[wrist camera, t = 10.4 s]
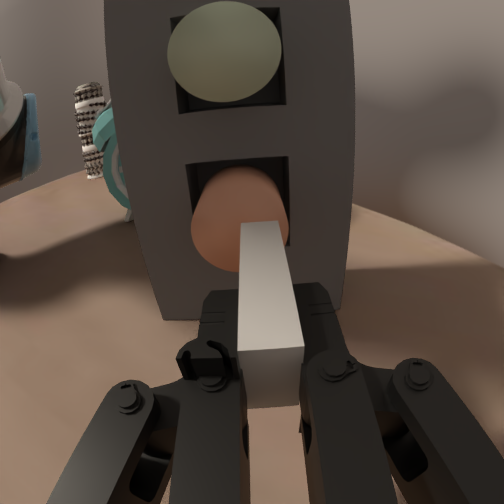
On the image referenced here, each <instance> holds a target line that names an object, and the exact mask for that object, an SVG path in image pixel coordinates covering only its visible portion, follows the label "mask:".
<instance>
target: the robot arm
mask: <svg viewBox="0 0 504 504" xmlns="http://www.w3.org/2000/svg"><path fill="white" fill-rule="evenodd" d="M41 163H42V158H41V151H40V141H39V131H38V120H37V106H36V96H35V94H33V93H31V94H24V95H23V94H22V91H21V89H20V87H19V86H18V85H17V84H16V83H14V82H11V81H6V77H5V74H4V70H3V66H2V62H1V58H0V188H3V187H5V186H7V185H9V184H12V183H15V182H17V181H21V180H23V178H25V177H27V176H29V175H31V174H33V173H35V172H37V171H38V170H39V168H40V166H41ZM201 313H202V315H201V318H200V325H199V331H198V337H197V338H196V339H194V340H192V341H190V342H188V343H186V344H185V345H184V346H183V347H182V348H181V349H180V350H179V352H178V354H177V356H176V361H177V363H178V366H179V368H180V371H181V373H182V376H183V377H182V378H181V379H179V380H178V381H176V382H173V383H170V384H167V385H163V386H159V387H154V388H149V386H148V385H147V384H145V383H143V382H141V381H137V380H127V381H123V382H120V383H118V384H117V385H115V386H113V387H112V388H111V390H110V391H109V392H108V393H107V394H106V396H105V398H104V399H103V401H102V403H101V404H100V406H99V408H98V410H97V411H96V413H95V415H94V416H93V418H92V420H91V422H90V423H89V425H88V427H87V429H86V430H85V432H84V434H83V436H82V437H81V439H80V441H79V443H78V445H77V446H76V448H75V450H74V452H73V454H72V456H71V457H70V459H69V461H68V463H67V465H66V467H65V468H64V470H63V472H62V474H61V476H60V478H59V480H58V482H57V484H56V486H55V488H54V489H53V491H52V493H51V495H50V497H49V499H48V501H47V503H46V504H160V502H161V500H162V497H163V495H164V492H165V490H166V487H167V485H168V482H169V480H170V477H171V486H170V496H169V504H250V462H249V425H248V420H247V409H253V408H270V407H283V406H294V405H299V400H300V407H301V419H300V427H299V433H302V440H303V448H304V457H305V465H306V474H307V483H308V492H309V502H310V504H398V503H397V498H396V493H395V489H394V485H393V480H392V476H393V478H394V480H395V482H396V483H397V485H398V487H399V489H400V491H401V492H402V494H403V496H404V498H405V500H406V501H407V503H408V504H504V459H503V457H502V456H501V454H500V453H499V451H498V450H497V448H496V447H495V446H494V444H493V443H492V441H491V440H490V438H489V437H488V435H487V434H486V433H485V431H484V430H483V428H482V427H481V426H480V424H479V423H478V422H477V420H476V419H475V417H474V416H473V415H472V413H471V412H470V411H469V409H468V408H467V407H466V405H465V404H464V403H463V401H462V400H461V399H460V397H459V396H458V395H457V393H456V392H455V391H454V390H453V388H452V387H451V386H450V384H449V383H448V382H447V381H446V379H445V378H444V377H443V376H442V374H441V373H440V372H439V371H438V369H437V368H436V367H435V366H434V365H432V364H431V363H430V362H428V361H426V360H423V359H418V358H410V359H407V360H403V361H402V362H401V363H399V364H398V365H397V366H396V368H395V370H392V369H382V368H374V367H369V366H366V365H363V364H361V363H359V362H358V361H357V360H356V359H355V358H354V357H353V356H352V355H350V353H349V351H348V349H347V347H346V344H345V340H344V337H343V334H342V331H341V328H340V325H339V322H338V319H337V316H336V314H335V310H334V307H333V305H332V301H331V299H330V296H329V293H328V291H327V290H326V289H325V288H324V287H323V286H322V285H321V284H320V283H319V282H313V283H300V284H292V282H291V277H290V272H289V268H288V263H287V258H286V254H285V249H284V245H283V240H282V236H281V231H280V227H279V223H278V221H263V222H248V223H241V233H240V266H239V289H229V290H212V291H210V293H209V294H208V295H207V297H206V298H205V299H204V301H203V306H202V312H201ZM391 474H392V476H391ZM171 475H172V476H171Z"/></svg>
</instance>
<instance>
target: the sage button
mask: <svg viewBox="0 0 504 504" xmlns="http://www.w3.org/2000/svg"><path fill="white" fill-rule="evenodd" d="M167 58H168V64H169V67H170V71H171V73H172V75H173V77H174V78H175V80H176V81H177V82H178V83H179V85H180V86H181V87H182V88H184V89H185V90H186V91H187V92H189V93H190V94H192V95H194V96H196V97H198V98H201V99H204V100H208V101H213V102H231V101H236V100H240V99H243V98H246V97H248V96H250V95H252V94H254V93H256V92H257V91H259V90H260V89H262V88H263V87H264V86H265V85H266V84H267V83H268V82H269V81H270V80H271V78H272V77H273V75H274V74H275V72H276V70H277V68H278V66H279V62H280V59H281V41H280V37H279V34H278V32H277V29H276V27H275V26H274V24H273V23H272V22H271V20H270V19H269V18H268V17H267V16H266V15H265V14H263V13H262V12H261V11H259V10H258V9H256V8H254V7H252V6H250V5H247V4H244V3H239V2H233V1H220V2H214V3H210V4H206V5H203V6H201V7H199V8H197V9H195V10H193V11H192V12H190V13H189V14H188V15H186V16H185V17H184V18H183V19H182V20H181V21H180V22H179V23H178V25H177V26H176V28H175V29H174V31H173V33H172V35H171V37H170V40H169V44H168V50H167Z"/></svg>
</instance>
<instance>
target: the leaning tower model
mask: <svg viewBox="0 0 504 504" xmlns="http://www.w3.org/2000/svg"><path fill="white" fill-rule="evenodd" d="M74 95H75V101H76V104H75V107H76V110H77V111H76V112H75V113H74V115H75V116H78V117H76V119H75V121H78V122H79V124H78V125H77V128H78V129H79V131H78V134H80V135H79V137H80V136H81V140H82V145H83V146H82V149H83V152H84V153H83V154H82V155H83V156H85V158H84V162H86V164H85V168H86V169H87V170H86V174H88V179H96V178H100V177H103V154H104V151H102V152H99V150H98V149H97V147H96V146H95V145H94V143H93V135H92V129H93V127H94V124H95V122H96V121H97V119H96V118H95V117H96V115H97V113H96V112H97V111H98V110H99V109H100V108H102V109H103V108H104V107H105V106H106V105H107V103H105V101H104V97H103V94H102V86H101V85H100V84H99V83H98V82H92V83H87V84H84V85H81V86H79V87H78V88H77V89H76V91H75V93H74Z"/></svg>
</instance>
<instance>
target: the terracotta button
mask: <svg viewBox="0 0 504 504" xmlns="http://www.w3.org/2000/svg"><path fill="white" fill-rule="evenodd" d="M263 221H278V223H279V227H280V231H281V236H282V240H283V245H284V246H285V244H286V241H287V238H288V230H289V227H288V220H287V216H286V213H285V209H284V206H283V203H282V199H281V196H280V193H279V190H278V187H277V185H276V183H275V182H274V180H273V179H272V178H271V177H270V176H269V175H268V174H267V173H266V172H264V171H263V170H261V169H259V168H257V167H254V166H250V165H244V164H237V165H231V166H227V167H225V168H222V169H221V170H219V171H217V172H216V173H215V174H213V175H212V176H211V177H210V178H209V180H208V181H207V182H206V184H205V186H204V188H203V191H202V194H201V196H200V199H199V201H198V204H197V207H196V209H195V212H194V215H193V217H192V222H191V235H192V239H193V242H194V245H195V247H196V249H197V250H198V252H199V253H200V254H201V256H202V257H203V258H204V259H205V260H207V261H208V262H209V263H211V264H212V265H214V266H216V267H218V268H220V269H223V270H226V271H231V272H239V266H240V233H241V223H248V222H263Z"/></svg>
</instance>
